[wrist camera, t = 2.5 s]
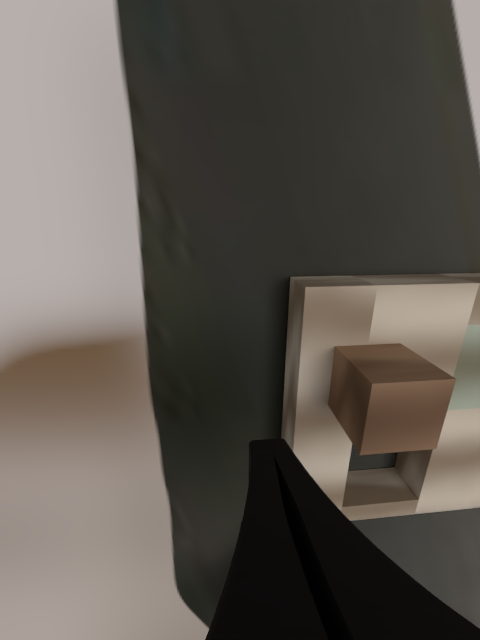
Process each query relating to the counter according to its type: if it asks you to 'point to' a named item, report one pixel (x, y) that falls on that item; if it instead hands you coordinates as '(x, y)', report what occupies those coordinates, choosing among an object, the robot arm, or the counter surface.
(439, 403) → the walnut block
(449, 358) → the trap deck
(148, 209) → the counter surface
